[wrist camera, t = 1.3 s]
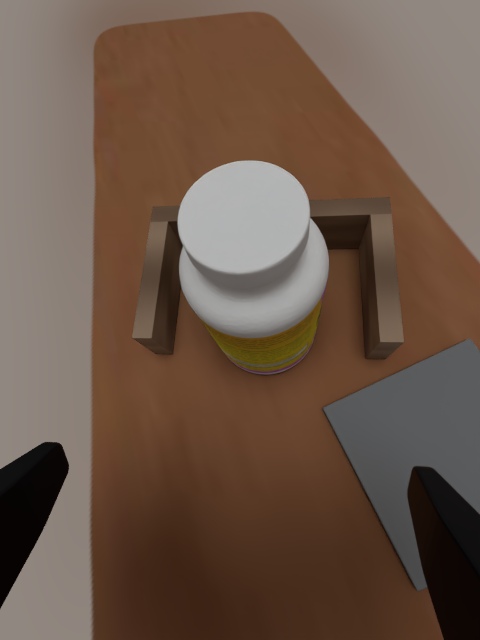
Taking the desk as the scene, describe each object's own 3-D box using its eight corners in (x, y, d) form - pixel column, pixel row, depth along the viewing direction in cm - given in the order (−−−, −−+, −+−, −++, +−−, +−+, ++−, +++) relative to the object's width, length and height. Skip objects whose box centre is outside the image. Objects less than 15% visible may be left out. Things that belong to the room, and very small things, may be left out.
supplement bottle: (330, 358, 23) (375, 264, 11) (234, 390, 23) (172, 332, 11) (295, 271, 25) (299, 115, 13) (207, 300, 25) (133, 173, 13)
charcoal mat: (585, 505, 19) (592, 506, 18) (414, 587, 18) (418, 591, 18) (466, 340, 22) (470, 338, 22) (322, 408, 22) (322, 407, 21)
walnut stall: (384, 359, 22) (403, 342, 19) (156, 353, 25) (131, 337, 21) (375, 233, 25) (389, 197, 22) (171, 238, 28) (152, 206, 24)
